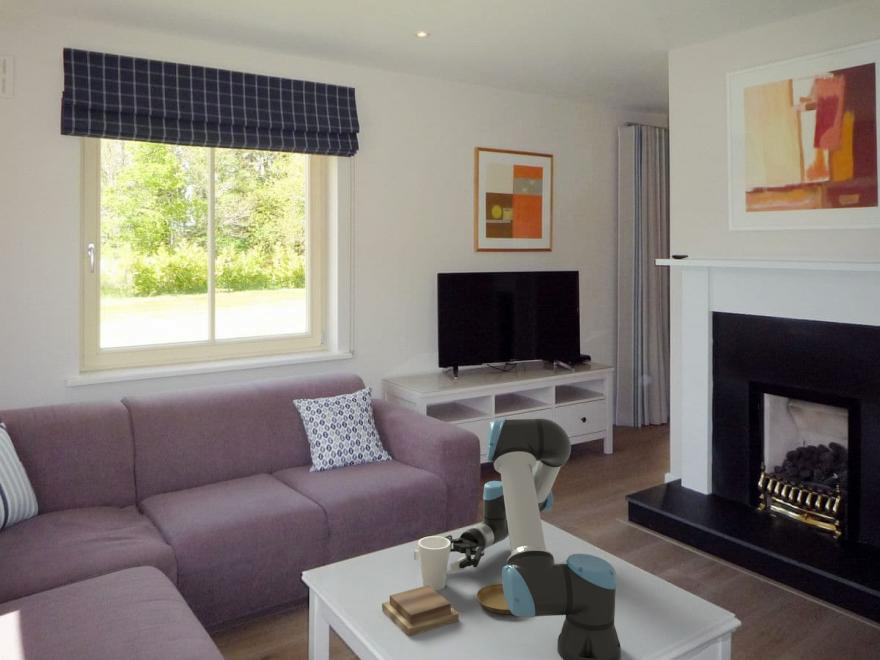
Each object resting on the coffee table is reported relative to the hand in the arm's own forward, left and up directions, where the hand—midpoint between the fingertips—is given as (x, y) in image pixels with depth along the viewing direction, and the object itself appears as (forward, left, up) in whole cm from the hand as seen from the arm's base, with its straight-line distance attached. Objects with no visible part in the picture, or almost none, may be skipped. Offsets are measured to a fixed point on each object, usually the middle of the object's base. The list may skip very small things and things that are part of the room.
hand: (432, 562), depth 210 cm
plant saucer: (-19, -11, -8) cm, 24 cm away
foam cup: (0, 0, -7) cm, 7 cm away
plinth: (-13, +12, -7) cm, 19 cm away
